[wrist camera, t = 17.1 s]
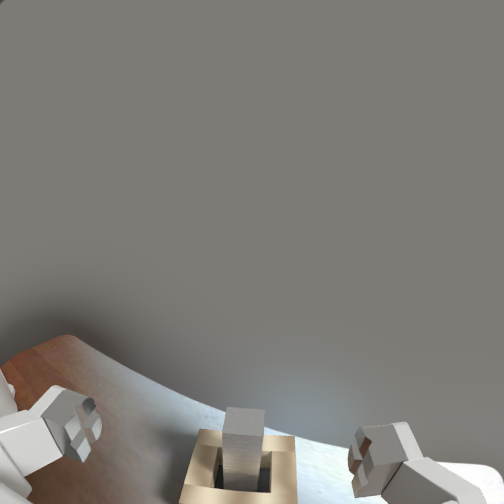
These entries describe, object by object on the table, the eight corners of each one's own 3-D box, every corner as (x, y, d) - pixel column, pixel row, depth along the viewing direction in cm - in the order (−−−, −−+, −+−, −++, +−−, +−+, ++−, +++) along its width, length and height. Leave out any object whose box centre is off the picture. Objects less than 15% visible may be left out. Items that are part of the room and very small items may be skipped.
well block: (183, 516, 24) (178, 502, 23) (201, 447, 37) (199, 428, 36) (292, 526, 24) (297, 513, 23) (290, 454, 36) (294, 435, 35)
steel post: (224, 496, 29) (222, 432, 25) (227, 473, 32) (227, 406, 29) (255, 498, 28) (263, 436, 25) (257, 476, 32) (264, 409, 29)
